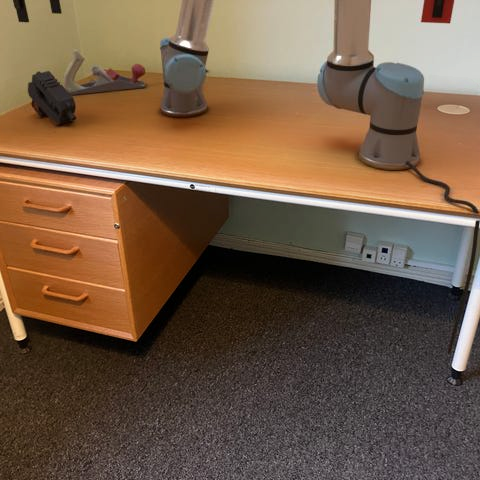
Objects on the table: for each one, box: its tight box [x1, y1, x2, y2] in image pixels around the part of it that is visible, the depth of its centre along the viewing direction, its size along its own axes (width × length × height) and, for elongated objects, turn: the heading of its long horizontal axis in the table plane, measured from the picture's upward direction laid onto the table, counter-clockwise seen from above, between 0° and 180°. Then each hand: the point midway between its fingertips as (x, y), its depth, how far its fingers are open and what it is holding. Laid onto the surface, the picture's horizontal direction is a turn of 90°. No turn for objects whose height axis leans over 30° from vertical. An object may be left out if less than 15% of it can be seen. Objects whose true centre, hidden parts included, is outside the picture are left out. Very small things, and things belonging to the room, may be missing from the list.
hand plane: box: [62, 48, 146, 96], centre depth 194 cm, size 7×31×15 cm, turn 107°
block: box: [420, 0, 455, 25], centre depth 159 cm, size 8×8×8 cm
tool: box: [27, 70, 77, 126], centre depth 167 cm, size 6×19×15 cm, turn 51°
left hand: (41, 17), depth 142 cm, fingers open, 13 cm apart
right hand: (437, 14), depth 160 cm, fingers closed on block, 8 cm apart
